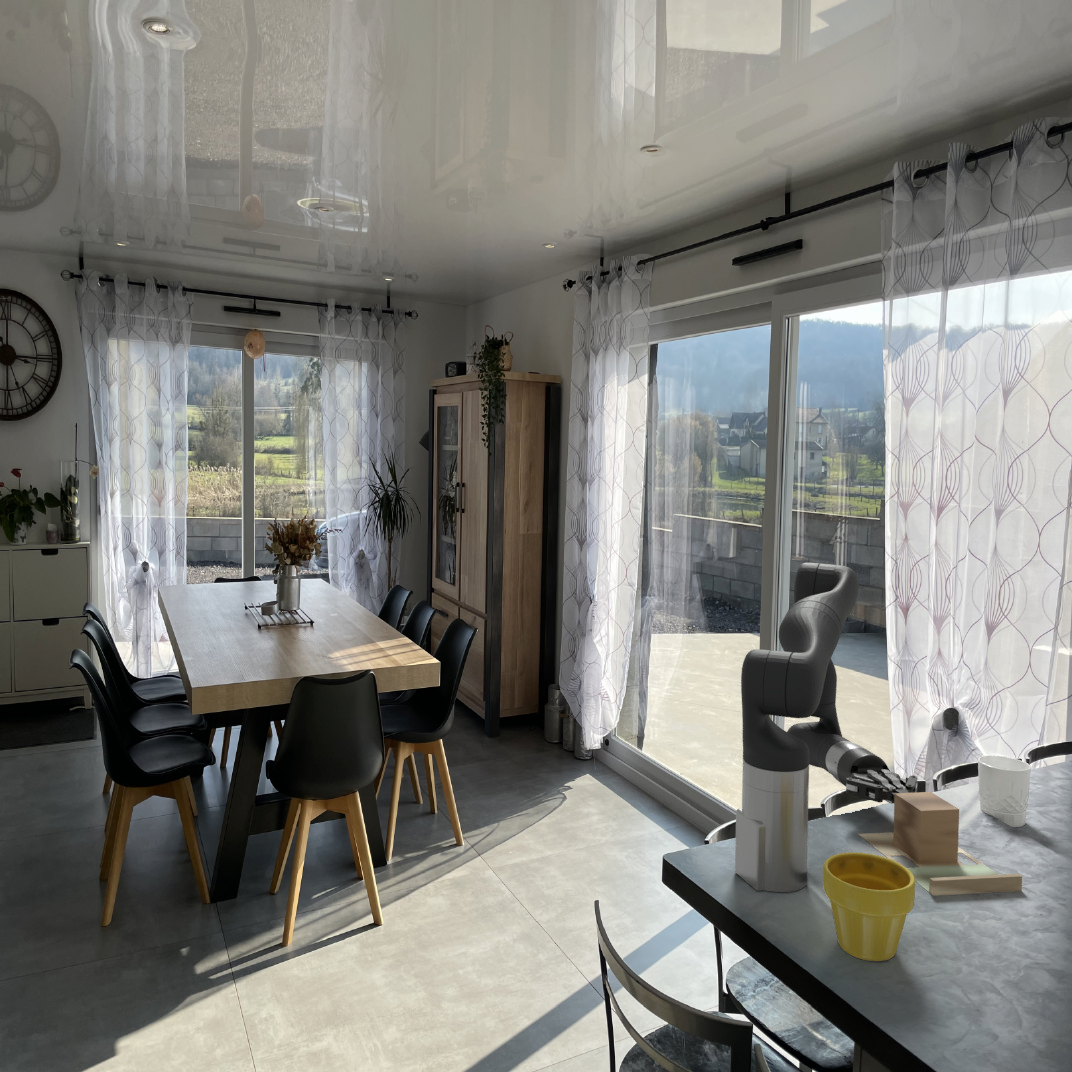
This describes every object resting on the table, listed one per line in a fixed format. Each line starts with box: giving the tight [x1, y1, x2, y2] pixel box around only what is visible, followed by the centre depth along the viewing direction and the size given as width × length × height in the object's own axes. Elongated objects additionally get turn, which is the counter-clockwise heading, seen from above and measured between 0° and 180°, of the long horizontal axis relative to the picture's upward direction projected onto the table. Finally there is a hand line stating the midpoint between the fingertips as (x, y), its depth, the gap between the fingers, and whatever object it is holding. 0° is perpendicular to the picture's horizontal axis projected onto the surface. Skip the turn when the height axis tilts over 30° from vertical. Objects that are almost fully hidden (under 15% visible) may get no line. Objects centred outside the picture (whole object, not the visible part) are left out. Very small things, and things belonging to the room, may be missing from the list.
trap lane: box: [858, 831, 1023, 897], centre depth 120 cm, size 20×13×4 cm, turn 6°
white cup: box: [977, 755, 1032, 828], centre depth 139 cm, size 8×8×10 cm
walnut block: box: [893, 791, 960, 864], centre depth 123 cm, size 7×6×8 cm
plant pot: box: [822, 851, 916, 962], centre depth 100 cm, size 10×10×10 cm
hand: (911, 804), depth 126 cm, fingers closed
